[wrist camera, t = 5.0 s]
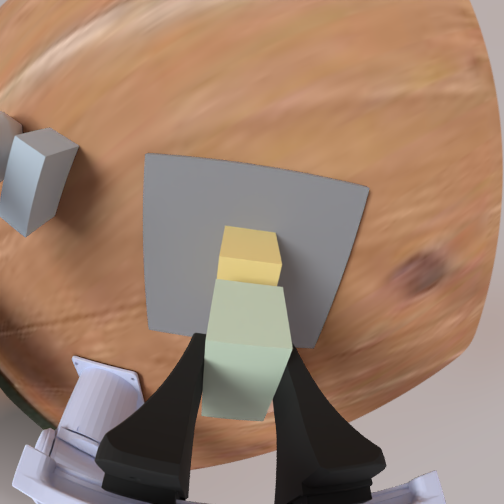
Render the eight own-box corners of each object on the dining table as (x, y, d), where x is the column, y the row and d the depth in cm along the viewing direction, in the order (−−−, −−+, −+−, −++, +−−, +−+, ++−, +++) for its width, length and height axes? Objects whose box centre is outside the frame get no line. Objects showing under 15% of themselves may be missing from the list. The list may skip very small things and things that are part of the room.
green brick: (261, 365, 16) (263, 421, 13) (208, 359, 16) (201, 415, 13) (282, 286, 14) (292, 348, 10) (215, 278, 13) (205, 340, 10)
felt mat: (312, 344, 23) (313, 348, 23) (150, 325, 22) (148, 329, 22) (366, 186, 17) (369, 188, 17) (147, 153, 16) (145, 154, 15)
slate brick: (55, 215, 18) (25, 237, 14) (29, 196, 17) (-2, 214, 13) (80, 145, 15) (45, 156, 12) (50, 127, 15) (14, 135, 11)
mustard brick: (259, 306, 21) (261, 346, 17) (216, 301, 20) (210, 340, 17) (275, 232, 18) (282, 264, 14) (225, 225, 18) (219, 256, 14)
